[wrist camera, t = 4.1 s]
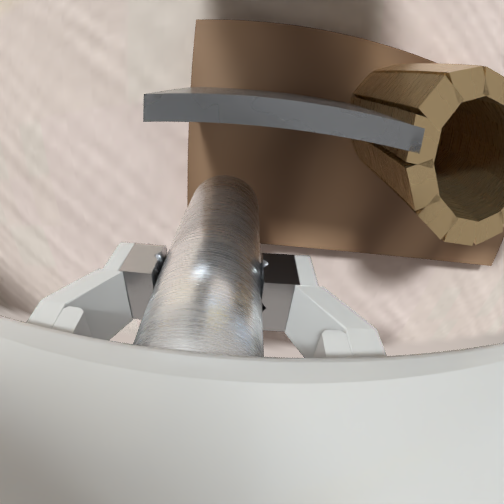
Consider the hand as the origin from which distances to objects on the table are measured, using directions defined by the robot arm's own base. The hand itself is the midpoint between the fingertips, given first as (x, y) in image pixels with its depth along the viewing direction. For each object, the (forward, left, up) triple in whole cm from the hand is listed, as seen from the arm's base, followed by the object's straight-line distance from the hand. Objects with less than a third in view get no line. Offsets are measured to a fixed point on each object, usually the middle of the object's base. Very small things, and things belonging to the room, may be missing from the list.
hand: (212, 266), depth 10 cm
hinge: (+9, +5, -7) cm, 12 cm away
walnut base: (+9, +3, -9) cm, 13 cm away
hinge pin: (0, 0, -5) cm, 5 cm away
